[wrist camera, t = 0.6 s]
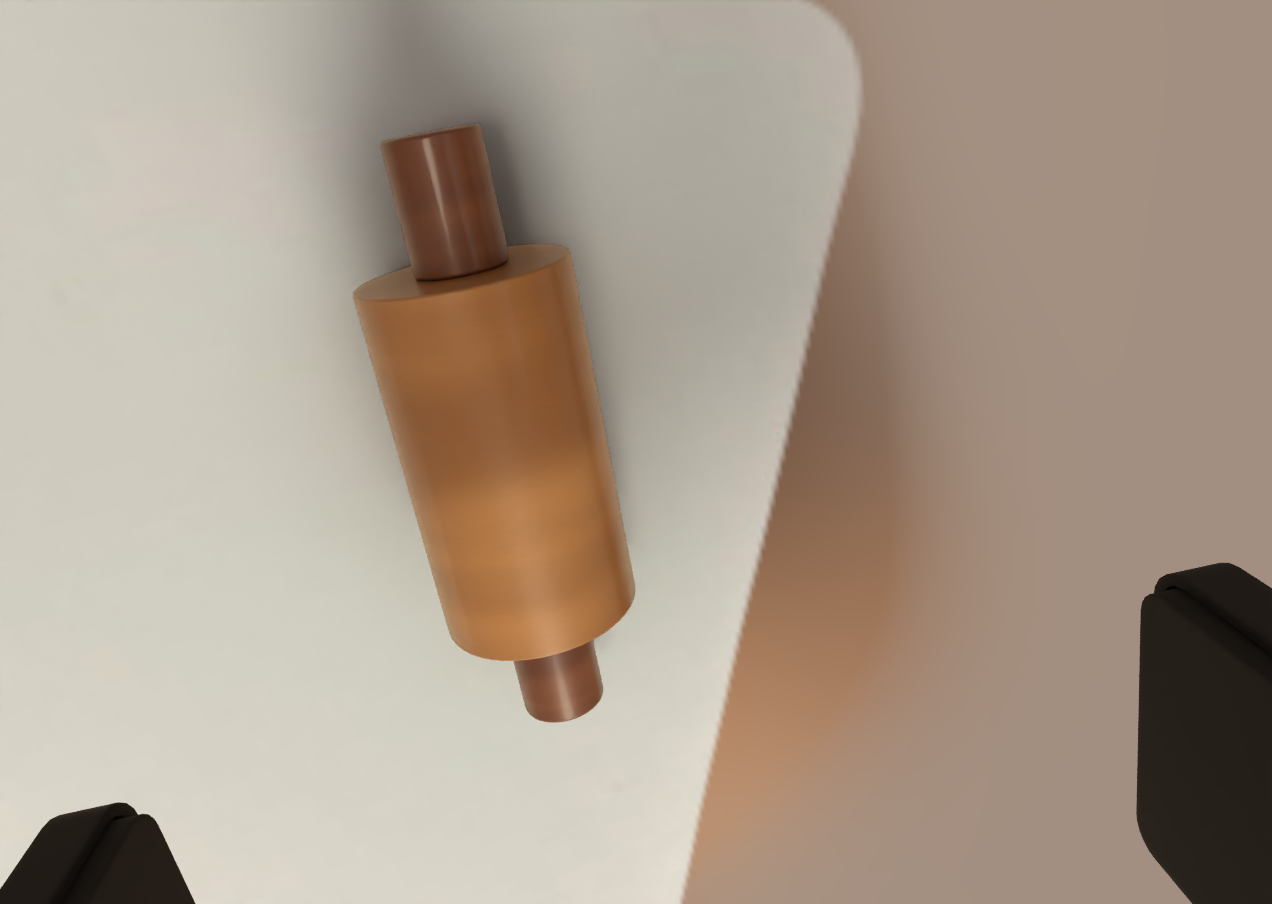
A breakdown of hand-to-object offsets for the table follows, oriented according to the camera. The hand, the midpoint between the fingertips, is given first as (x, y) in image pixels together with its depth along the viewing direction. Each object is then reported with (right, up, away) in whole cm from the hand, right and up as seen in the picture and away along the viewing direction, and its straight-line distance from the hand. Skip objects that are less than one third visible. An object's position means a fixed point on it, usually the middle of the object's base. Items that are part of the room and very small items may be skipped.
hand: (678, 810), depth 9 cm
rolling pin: (-4, +3, +14) cm, 15 cm away
